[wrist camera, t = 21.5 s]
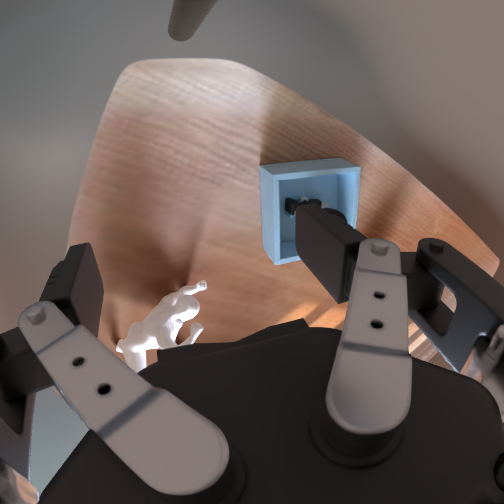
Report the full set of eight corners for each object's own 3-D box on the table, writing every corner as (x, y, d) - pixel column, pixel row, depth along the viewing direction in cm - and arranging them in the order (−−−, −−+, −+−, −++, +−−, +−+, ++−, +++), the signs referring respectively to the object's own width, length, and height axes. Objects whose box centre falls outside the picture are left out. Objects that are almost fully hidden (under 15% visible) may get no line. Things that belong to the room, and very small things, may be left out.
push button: (325, 186, 46) (363, 210, 38) (321, 220, 48) (357, 250, 40) (282, 188, 44) (315, 214, 36) (280, 223, 47) (310, 256, 38)
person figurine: (184, 409, 45) (202, 341, 36) (105, 391, 43) (94, 317, 33) (191, 346, 56) (210, 270, 46) (123, 331, 54) (124, 251, 44)
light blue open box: (259, 165, 43) (272, 174, 38) (340, 157, 45) (360, 166, 41) (262, 247, 49) (274, 265, 44) (336, 234, 52) (353, 248, 47)
